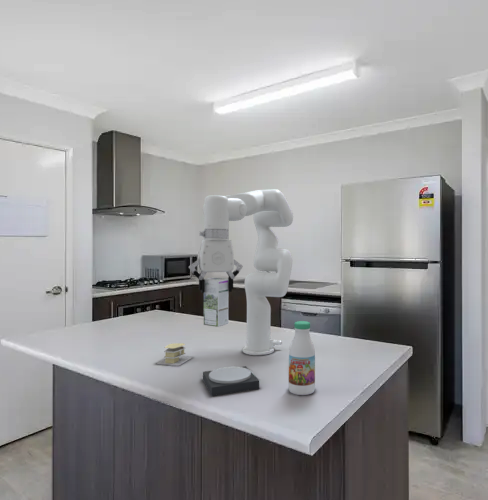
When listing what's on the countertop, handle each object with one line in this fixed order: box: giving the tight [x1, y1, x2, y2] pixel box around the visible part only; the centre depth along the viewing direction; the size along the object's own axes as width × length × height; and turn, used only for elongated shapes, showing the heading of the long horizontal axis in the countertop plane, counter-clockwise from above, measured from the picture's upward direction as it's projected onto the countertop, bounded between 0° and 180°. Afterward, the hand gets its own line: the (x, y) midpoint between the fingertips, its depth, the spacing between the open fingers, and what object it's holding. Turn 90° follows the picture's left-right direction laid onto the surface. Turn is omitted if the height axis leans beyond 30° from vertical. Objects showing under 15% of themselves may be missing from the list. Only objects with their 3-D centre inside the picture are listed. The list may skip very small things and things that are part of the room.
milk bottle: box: [288, 320, 316, 396], centre depth 107 cm, size 8×8×20 cm
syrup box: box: [203, 277, 230, 328], centre depth 115 cm, size 6×6×14 cm
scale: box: [202, 365, 260, 397], centre depth 112 cm, size 14×14×3 cm
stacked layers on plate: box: [156, 342, 193, 367], centre depth 134 cm, size 10×9×6 cm
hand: (216, 291), depth 114 cm, fingers closed on syrup box, 7 cm apart
